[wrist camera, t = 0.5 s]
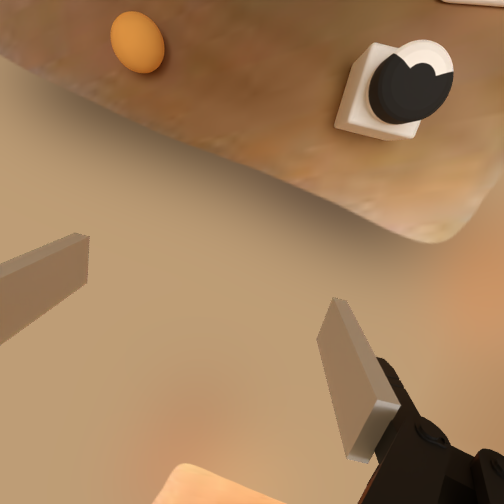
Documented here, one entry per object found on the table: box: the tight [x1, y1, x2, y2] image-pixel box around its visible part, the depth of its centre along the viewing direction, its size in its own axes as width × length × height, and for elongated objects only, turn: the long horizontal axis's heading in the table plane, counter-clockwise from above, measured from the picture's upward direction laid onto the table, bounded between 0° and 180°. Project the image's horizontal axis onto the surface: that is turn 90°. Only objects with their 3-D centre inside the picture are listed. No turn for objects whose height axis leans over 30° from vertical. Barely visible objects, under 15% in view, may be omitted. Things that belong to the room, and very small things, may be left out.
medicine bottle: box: [334, 40, 453, 141], centre depth 29 cm, size 7×7×12 cm
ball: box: [111, 11, 165, 73], centre depth 31 cm, size 6×6×6 cm
